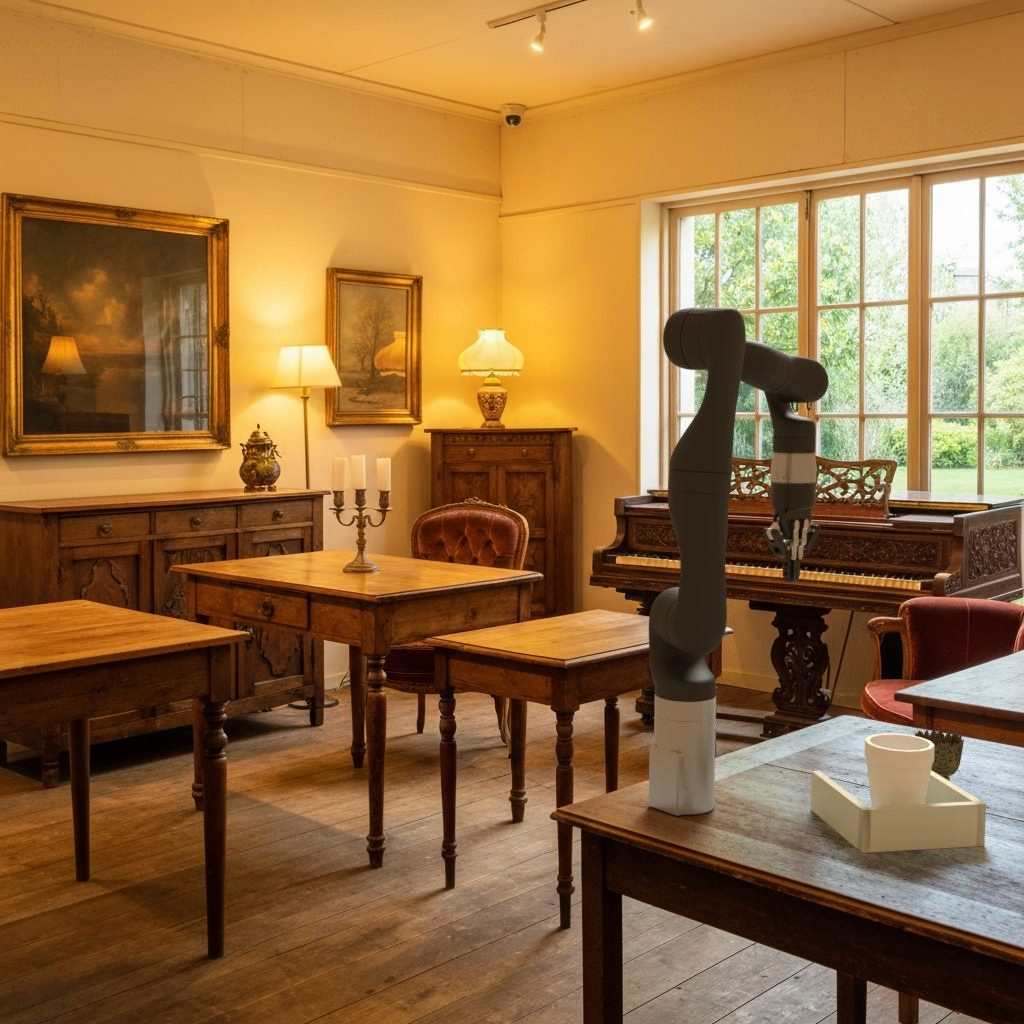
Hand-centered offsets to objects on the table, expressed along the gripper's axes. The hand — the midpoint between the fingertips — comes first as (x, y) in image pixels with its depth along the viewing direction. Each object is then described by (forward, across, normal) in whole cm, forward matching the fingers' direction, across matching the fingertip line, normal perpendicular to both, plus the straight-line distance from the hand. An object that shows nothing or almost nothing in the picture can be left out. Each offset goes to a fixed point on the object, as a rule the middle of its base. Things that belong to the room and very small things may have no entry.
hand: (791, 581), depth 209 cm
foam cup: (+31, -16, -33) cm, 48 cm away
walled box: (+31, -15, -32) cm, 47 cm away
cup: (+31, +8, -24) cm, 40 cm away
